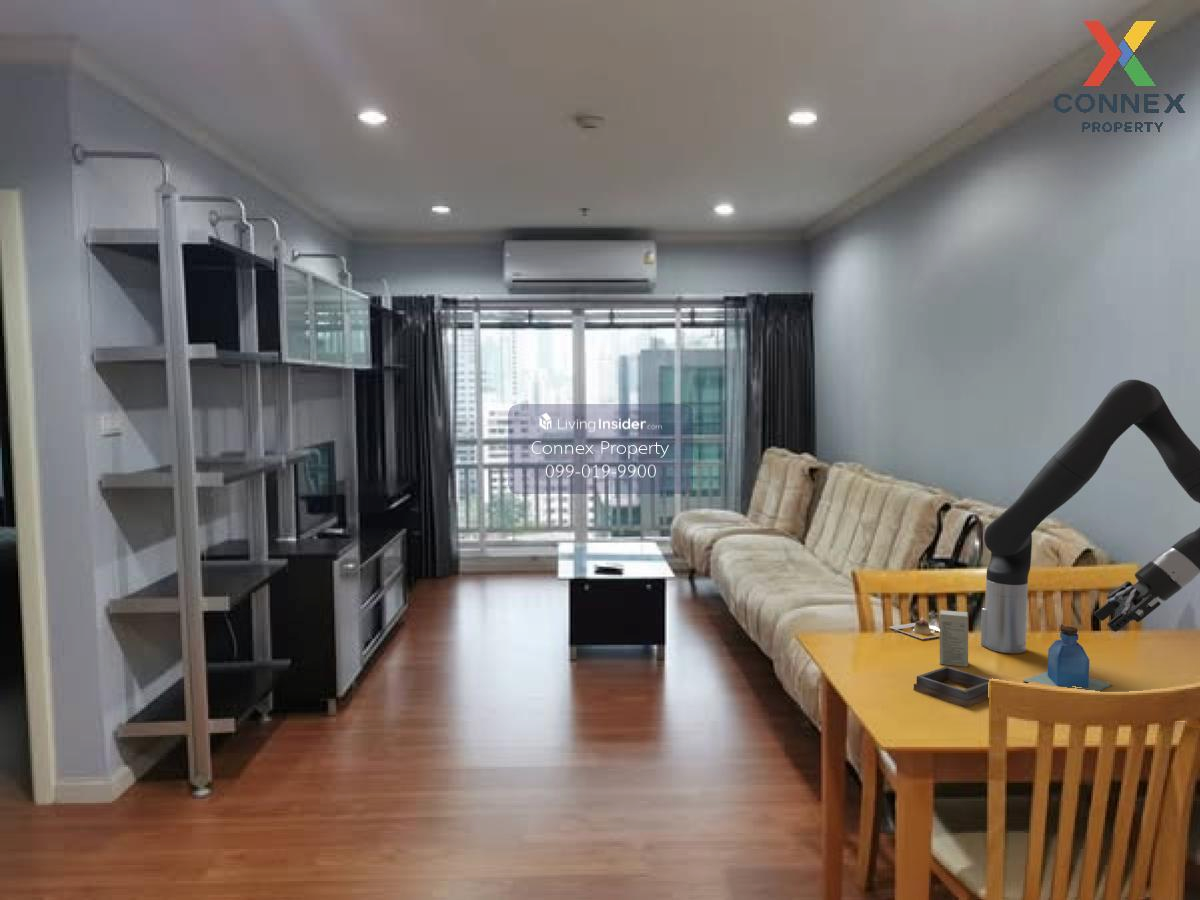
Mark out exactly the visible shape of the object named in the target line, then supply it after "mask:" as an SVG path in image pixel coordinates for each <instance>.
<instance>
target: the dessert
mask: <svg viewBox="0 0 1200 900" xmlns="http://www.w3.org/2000/svg"><path fill="white" fill-rule="evenodd" d="M912 627H913V630H912V633H915V634H917V635H931V634H932V632H931V630H935V631H938V632H939V633H940V627H938V626H935V625H932V624H930V623H929V622H928V621H927V619H926V617H924V616H921V618H920V620H916V621H915V622H911V623H906V624H899V625H892V626H889V628H890V629H892V630H894V631H896V632H899V633H902V634H905V635H908V636H910V637H913V636H914V637H913V638H916V639H918V638H919V640H921V641H923V640H924V639H925V640H929V639H930V638H931V639H936V637H937V638H940V635H935V636H928V637H920V636H917V635H914V634H911V633H909V632H906V631H902V630H901V629H908V628H912ZM925 640H924V641H925Z"/></svg>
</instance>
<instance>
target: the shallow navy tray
mask: <svg viewBox="0 0 1200 900" xmlns="http://www.w3.org/2000/svg"><path fill="white" fill-rule="evenodd" d="M989 679H990V678H987V677H983V676H980V675H977V674H973V673H970V672H967V671H963V670H961V669H957V668H955V667H950V666H948V665H945V666H944V667H940V668H938V669H935V670H932V671H928V672H926V673H925V672H924V673H922V674H919V675H917V676H916V683H913V690H914V691H917V692H920V693H922V694H925V695H929V696H932V697H934V698H937V699H941V700H943V701H946V702H948V703H949V702H950V703H952V704H955V705H957V706H961V707H963V708H968V707H971V706H973V705H976V704H978V703H981V702H983V701H986V700H989V699H988V682H989ZM945 682H946V683H945ZM947 682H949V683H953V684H956V685H958V686H961V687H964V688H965V689H962V688H959V687H956V686H953V685H950V684H947Z"/></svg>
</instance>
